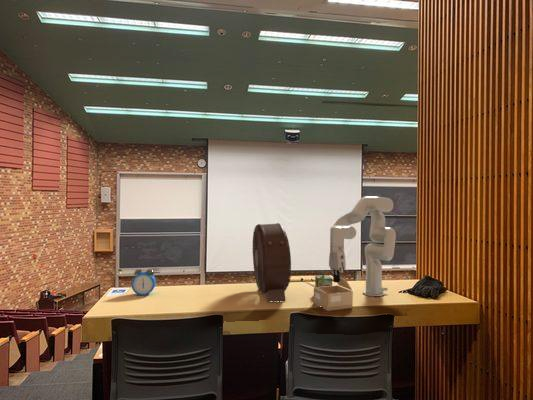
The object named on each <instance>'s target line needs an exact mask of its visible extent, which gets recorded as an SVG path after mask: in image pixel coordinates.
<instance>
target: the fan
mask: <svg viewBox="0 0 533 400" xmlns="http://www.w3.org/2000/svg"><path fill="white" fill-rule="evenodd" d="M291 258H292V257H291V248H290V242H289V238H288V235H287V232H286V230H285V228H284V226H283V225H282V224H281V223H280V222H279V223H278V222H277V223H269V224H267V223H266V224H265V223H264V224H263V223H262V224H261V223H258V224H256V225H255V227H254V229H253V234H252V262H253V273H254V278H255V284H256V287H257V289H258V291H259V292H260V294H264V295H265V294H266V297H267V301H269V302H270V301H273V302H272V303H275V302H274V301H279V302H278V303H281V302H280V301H286V291H287V289H288V287H289V286H290V283H291V278H292V276H291V274H292V273H291V272H292V259H291ZM269 302H268V303H269Z"/></svg>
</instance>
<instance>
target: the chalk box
mask: <svg viewBox="0 0 533 400" xmlns="http://www.w3.org/2000/svg"><path fill="white" fill-rule="evenodd" d="M320 272H321V275H315V277H314V278H315V279H314V282H315V285H314V286H316V287H325V286H333V277H331V276H330V275H325V274H324V272H323V271H322V270H321V271H320Z"/></svg>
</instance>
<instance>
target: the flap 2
mask: <svg viewBox="0 0 533 400" xmlns="http://www.w3.org/2000/svg"><path fill="white" fill-rule="evenodd" d="M336 283H337V285H338V286H341V287H343V288H346V289H348V290H351V291H353V289H352V287H351V286H350V284H349V283H348V281H347V279H346V278H345V279H344V278H342V277H340V282H336Z"/></svg>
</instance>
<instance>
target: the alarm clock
mask: <svg viewBox="0 0 533 400" xmlns="http://www.w3.org/2000/svg"><path fill="white" fill-rule="evenodd" d="M130 285H131V289H132V291H133V293H135V294H136V296H150V294H151V293H152V291H153V290H154V289H155V288H156V286H157V280H156V277H155V271H154V270H153V269H150V268H148V269H146V270H144V269H143V270H142V269H135V270H134V272H133V278H132V281H131V284H130Z"/></svg>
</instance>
